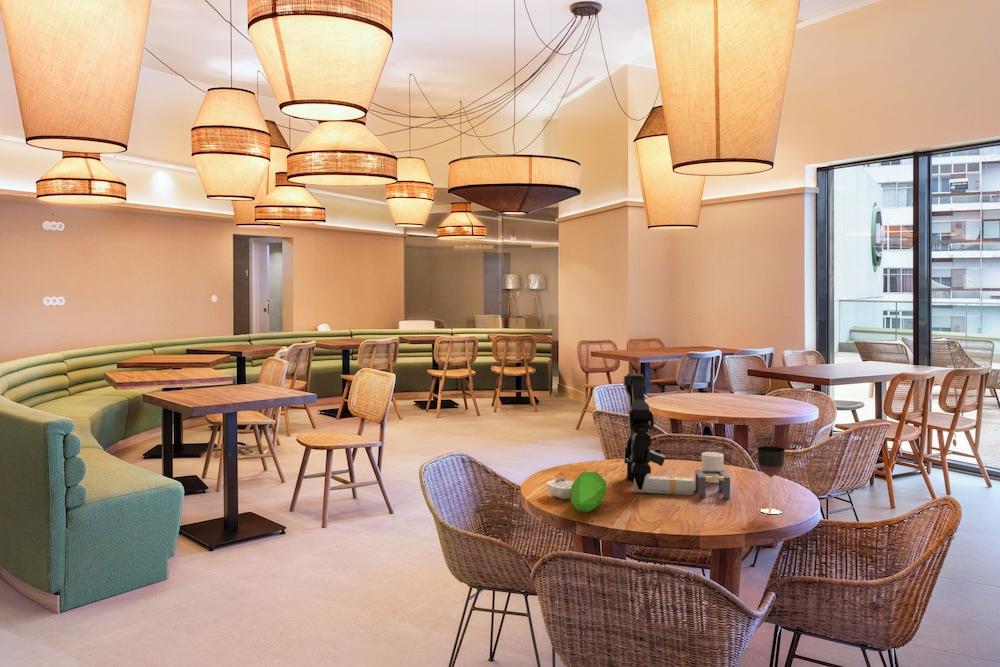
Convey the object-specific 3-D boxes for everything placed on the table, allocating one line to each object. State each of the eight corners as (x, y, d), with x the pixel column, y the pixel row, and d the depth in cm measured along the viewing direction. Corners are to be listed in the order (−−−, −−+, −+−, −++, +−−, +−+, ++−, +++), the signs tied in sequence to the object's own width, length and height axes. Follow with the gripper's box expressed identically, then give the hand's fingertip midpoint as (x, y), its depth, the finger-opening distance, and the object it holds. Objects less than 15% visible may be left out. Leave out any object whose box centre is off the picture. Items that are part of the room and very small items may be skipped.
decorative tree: (602, 462, 249) (590, 480, 220) (615, 494, 248) (604, 516, 219) (571, 473, 252) (555, 492, 223) (584, 504, 251) (569, 528, 222)
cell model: (554, 504, 243) (554, 483, 243) (542, 494, 254) (542, 475, 254) (583, 501, 246) (583, 481, 245) (570, 492, 257) (570, 473, 257)
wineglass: (788, 511, 233) (789, 448, 232) (777, 517, 227) (777, 453, 226) (763, 506, 238) (764, 445, 237) (752, 512, 232) (752, 449, 231)
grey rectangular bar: (634, 492, 255) (634, 477, 254) (633, 488, 259) (634, 474, 259) (693, 495, 252) (694, 481, 252) (691, 492, 256) (692, 477, 256)
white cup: (726, 483, 268) (726, 456, 267) (704, 483, 268) (704, 456, 267) (720, 478, 276) (720, 451, 275) (699, 478, 276) (699, 451, 275)
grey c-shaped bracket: (699, 498, 249) (699, 476, 248) (695, 489, 259) (695, 469, 259) (729, 498, 247) (730, 477, 247) (724, 490, 258) (724, 470, 258)
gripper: (666, 449, 245) (666, 495, 246) (661, 438, 264) (661, 481, 265) (632, 448, 247) (632, 494, 248) (629, 438, 265) (629, 480, 266)
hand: (639, 487), depth 256 cm, fingers closed on grey rectangular bar, 4 cm apart
